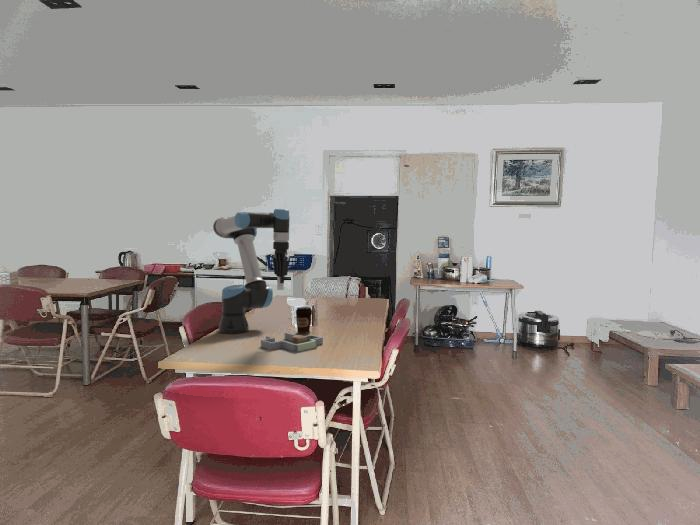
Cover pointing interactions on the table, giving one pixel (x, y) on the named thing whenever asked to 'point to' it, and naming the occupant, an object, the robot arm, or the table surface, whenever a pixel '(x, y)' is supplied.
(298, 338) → the walnut block
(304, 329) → the coffee cup
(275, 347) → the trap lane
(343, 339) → the table surface
